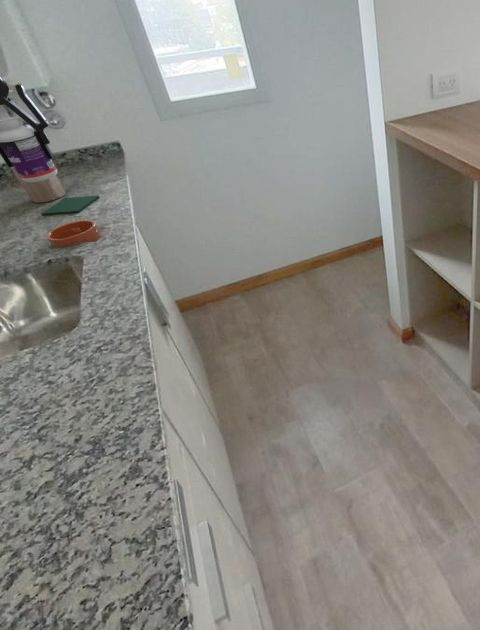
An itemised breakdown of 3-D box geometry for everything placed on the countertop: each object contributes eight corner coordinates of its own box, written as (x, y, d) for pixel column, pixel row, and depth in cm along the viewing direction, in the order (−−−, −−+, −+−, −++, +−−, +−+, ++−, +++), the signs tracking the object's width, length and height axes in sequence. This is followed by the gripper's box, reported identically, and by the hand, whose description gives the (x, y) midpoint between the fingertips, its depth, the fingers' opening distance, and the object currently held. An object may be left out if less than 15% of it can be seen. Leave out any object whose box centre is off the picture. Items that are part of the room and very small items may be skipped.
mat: (42, 215, 140) (40, 213, 139) (65, 200, 149) (64, 198, 149) (78, 213, 139) (77, 210, 139) (99, 197, 149) (98, 195, 148)
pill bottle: (19, 180, 115) (-20, 123, 106) (52, 170, 120) (18, 114, 111) (30, 186, 111) (-9, 126, 102) (64, 175, 116) (30, 117, 107)
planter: (29, 205, 147) (-17, 135, 133) (36, 195, 155) (-7, 128, 141) (63, 198, 150) (21, 129, 136) (69, 189, 158) (29, 122, 143)
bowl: (44, 253, 119) (36, 241, 117) (70, 232, 128) (64, 221, 126) (86, 249, 118) (79, 238, 116) (109, 229, 128) (103, 218, 126)
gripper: (-96, 70, 92) (-21, 175, 107) (21, 55, 100) (77, 155, 114) (-86, 66, 98) (-15, 167, 112) (25, 52, 105) (78, 148, 119)
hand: (31, 161), depth 113 cm, fingers closed on pill bottle, 8 cm apart
